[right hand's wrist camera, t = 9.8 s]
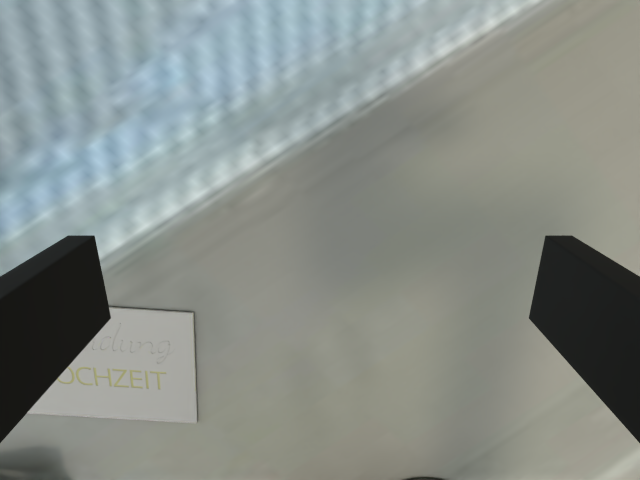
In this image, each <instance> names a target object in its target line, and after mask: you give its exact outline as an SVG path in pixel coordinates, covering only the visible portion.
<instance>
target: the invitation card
mask: <svg viewBox="0 0 640 480" xmlns="http://www.w3.org/2000/svg"><path fill="white" fill-rule="evenodd" d="M109 310H110V315H111V319H110V320H109V321H108V322H107V323H106V324H105V326H104V327H103V328H102V329H101V330H100V331H99V332H98V333H97V335H96V336H95V337H94V338H93V339H92V340H91V341H90V342H89V344H88V345H87V346H86V347H85V348H84V349H83V350H82V351H81V353H80V354H79V355H78V356H77V357H76V358H75V359H74V360H73V362H72V363H71V364H70V365H69V366H68V367H67V368H66V369H65V371H64V372H63V373H62V374H61V375H60V376H59V377H58V378H57V380H56V381H55V382H54V383H53V384H52V385H51V386H50V387H49V389H48V390H47V391H46V392H45V393H44V394H43V395H42V396H41V398H40V399H39V400H38V401H37V402H36V403H35V404H34V405H33V407H32V408H31V409H30V410H29V411H28V412H27V413H30V414H47V415H64V416H81V417H98V418H115V419H132V420H149V421H166V422H183V423H197V393H196V365H195V336H194V312H179V311H164V310H148V309H133V308H118V307H109Z"/></svg>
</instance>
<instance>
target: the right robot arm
mask: <svg viewBox="0 0 640 480" xmlns="http://www.w3.org/2000/svg"><path fill="white" fill-rule="evenodd" d="M110 319H111V315H110V310H109V305H108V300H107V295H106V291H105V286H104V281H103V276H102V271H101V266H100V261H99V256H98V251H97V246H96V241H95V236H67V237H65V238H63V239H62V240H60V241H59V242H57V243H55V244H54V245H52V246H50V247H49V248H47V249H45V250H44V251H42V252H40V253H39V254H37V255H35V256H34V257H32V258H30V259H29V260H27V261H26V262H24V263H22V264H21V265H19V266H17V267H16V268H14V269H12V270H11V271H9V272H7V273H6V274H4V275H2V276H1V277H0V443H1V442H2V440H3V439H4V438H5V437H6V436H7V435H8V434H9V433H10V431H11V430H12V429H13V428H14V427H15V426H16V425H17V424H18V422H19V421H20V420H21V419H22V418H23V417H24V416H25V415H26V413H27V412H28V411H29V410H30V409H31V408H32V407H33V405H34V404H35V403H36V402H37V401H38V400H39V399H40V398H41V396H42V395H43V394H44V393H45V392H46V391H47V390H48V389H49V387H50V386H51V385H52V384H53V383H54V382H55V381H56V380H57V378H58V377H59V376H60V375H61V374H62V373H63V372H64V371H65V369H66V368H67V367H68V366H69V365H70V364H71V363H72V362H73V360H74V359H75V358H76V357H77V356H78V355H79V354H80V353H81V351H82V350H83V349H84V348H85V347H86V346H87V345H88V344H89V342H90V341H91V340H92V339H93V338H94V337H95V336H96V335H97V333H98V332H99V331H100V330H101V329H102V328H103V327H104V326H105V324H106V323H107V322H108V321H109V320H110ZM529 319H530V320H531V321H532V322H533V323H534V324H535V326H536V327H537V328H538V329H539V330H540V331H541V332H542V333H543V335H544V336H545V337H546V338H547V339H548V340H549V341H550V342H551V344H552V345H553V346H554V347H555V348H556V349H557V350H558V351H559V353H560V354H561V355H562V356H563V357H564V358H565V359H566V360H567V362H568V363H569V364H570V365H571V366H572V367H573V368H574V369H575V371H576V372H577V373H578V374H579V375H580V376H581V377H582V378H583V380H584V381H585V382H586V383H587V384H588V385H589V386H590V387H591V389H592V390H593V391H594V392H595V393H596V394H597V395H598V396H599V398H600V399H601V400H602V401H603V402H604V403H605V404H606V405H607V407H608V408H609V409H610V410H611V411H612V412H613V413H614V415H615V416H616V417H617V418H618V419H619V420H620V421H621V422H622V424H623V425H624V426H625V427H626V428H627V429H628V430H629V431H630V433H631V434H632V435H633V436H634V437H635V438H636V439H637V440H638V442H639V443H640V277H639V276H638V275H636V274H634V273H633V272H631V271H629V270H628V269H626V268H624V267H623V266H621V265H619V264H618V263H616V262H614V261H613V260H611V259H610V258H608V257H606V256H605V255H603V254H601V253H600V252H598V251H596V250H595V249H593V248H591V247H590V246H588V245H586V244H585V243H583V242H581V241H580V240H578V239H577V238H575V237H573V236H545V241H544V246H543V251H542V256H541V261H540V266H539V271H538V276H537V281H536V286H535V290H534V295H533V300H532V305H531V310H530V315H529ZM412 480H438V479H427V478H423V479H412Z"/></svg>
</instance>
